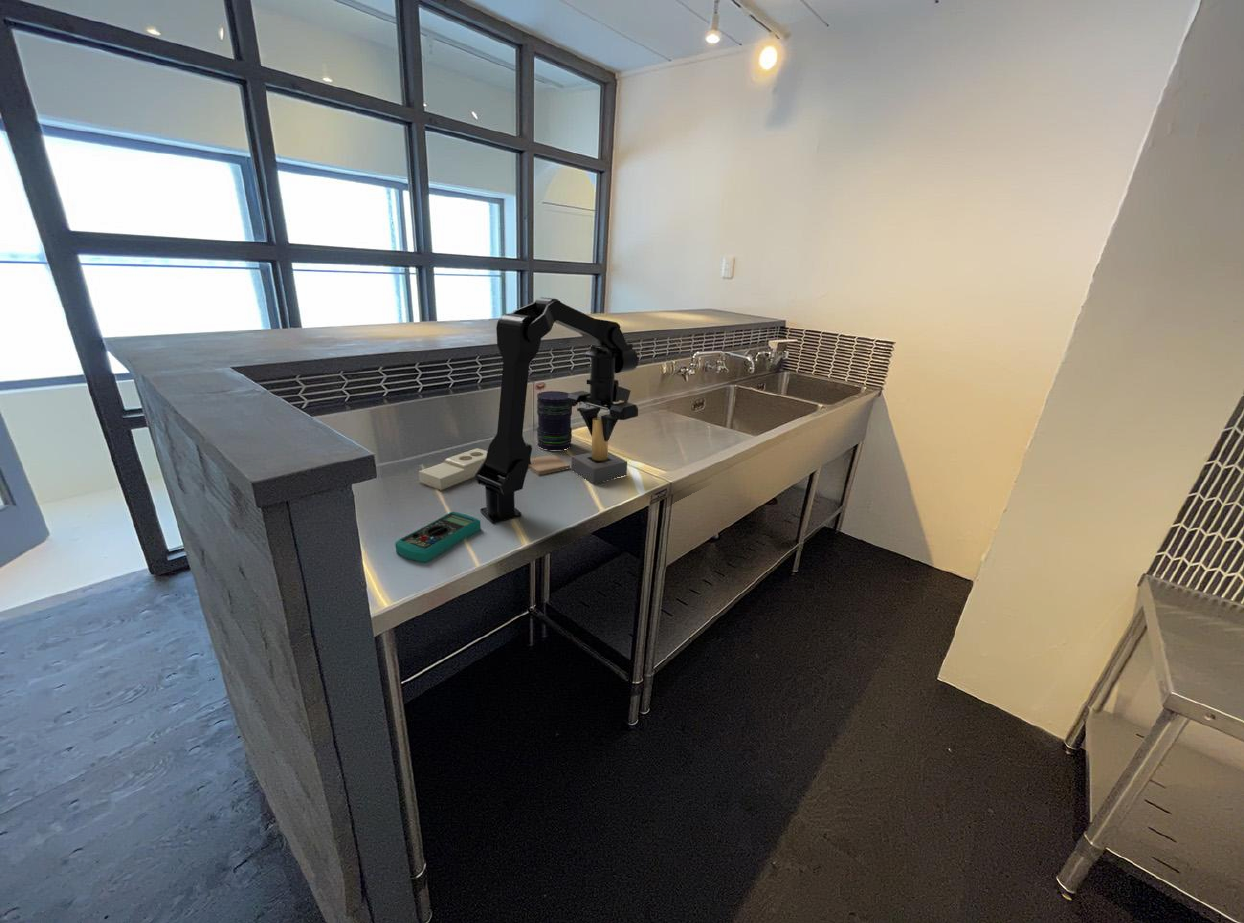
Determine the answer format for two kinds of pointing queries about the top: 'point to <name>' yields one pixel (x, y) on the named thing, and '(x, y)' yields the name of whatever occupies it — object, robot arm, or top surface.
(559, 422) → the storage jar
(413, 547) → the digital multimeter
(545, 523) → the top surface
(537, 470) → the tan square tile
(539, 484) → the top surface
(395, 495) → the top surface
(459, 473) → the electrical outlet
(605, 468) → the socket block
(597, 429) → the amber plug
